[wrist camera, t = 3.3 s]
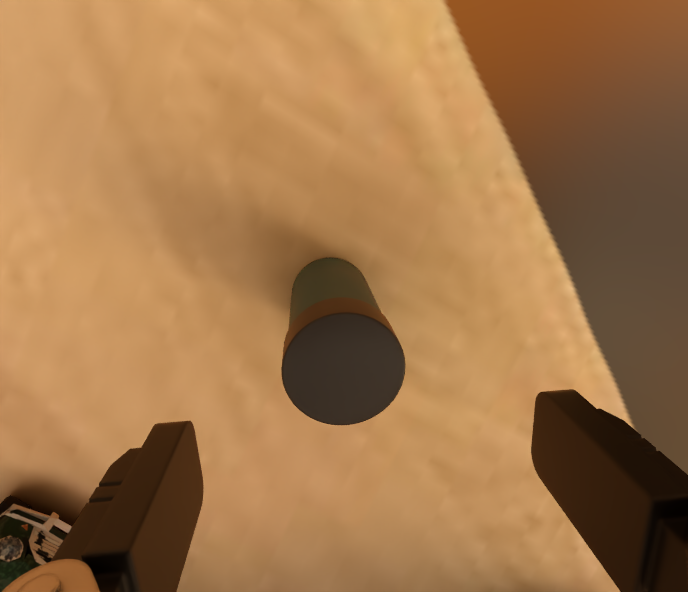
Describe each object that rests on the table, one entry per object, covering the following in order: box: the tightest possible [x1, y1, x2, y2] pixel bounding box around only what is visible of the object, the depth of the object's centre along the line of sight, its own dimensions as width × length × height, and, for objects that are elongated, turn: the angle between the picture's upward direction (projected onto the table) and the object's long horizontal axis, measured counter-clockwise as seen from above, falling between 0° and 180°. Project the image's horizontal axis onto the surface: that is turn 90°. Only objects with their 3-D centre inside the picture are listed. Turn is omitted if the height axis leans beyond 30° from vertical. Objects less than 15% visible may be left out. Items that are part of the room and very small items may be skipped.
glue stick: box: [282, 258, 405, 425], centre depth 18 cm, size 4×4×8 cm
